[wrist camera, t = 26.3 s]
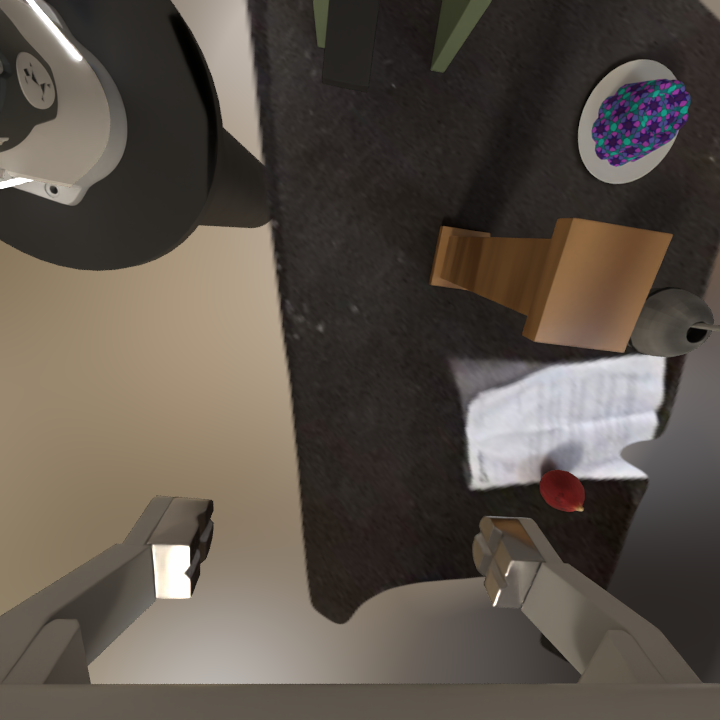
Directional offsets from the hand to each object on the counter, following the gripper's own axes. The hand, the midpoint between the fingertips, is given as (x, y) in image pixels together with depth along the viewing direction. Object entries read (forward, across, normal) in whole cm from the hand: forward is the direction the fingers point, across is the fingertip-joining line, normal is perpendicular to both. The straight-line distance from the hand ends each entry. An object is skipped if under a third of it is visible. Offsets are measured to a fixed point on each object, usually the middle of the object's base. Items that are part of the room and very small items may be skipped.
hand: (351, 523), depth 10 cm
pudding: (+37, -30, -24) cm, 53 cm away
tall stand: (+36, -14, -7) cm, 40 cm away
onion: (+36, -38, +24) cm, 57 cm away
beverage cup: (+36, -34, -4) cm, 50 cm away
